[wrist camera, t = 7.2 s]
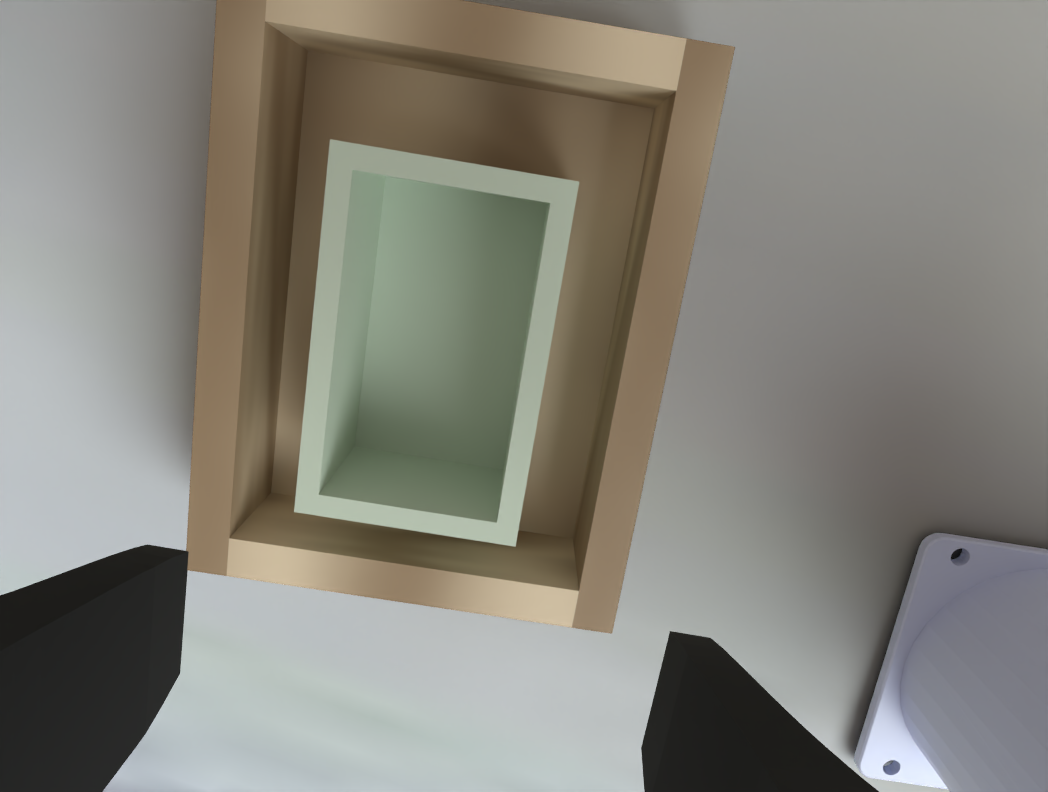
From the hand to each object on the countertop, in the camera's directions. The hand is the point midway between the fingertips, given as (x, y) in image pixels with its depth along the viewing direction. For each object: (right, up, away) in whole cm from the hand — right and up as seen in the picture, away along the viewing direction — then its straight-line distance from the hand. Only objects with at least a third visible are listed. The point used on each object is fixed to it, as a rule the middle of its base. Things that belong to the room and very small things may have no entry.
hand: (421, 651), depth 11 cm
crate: (0, +6, +9) cm, 11 cm away
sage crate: (0, +6, +9) cm, 10 cm away
